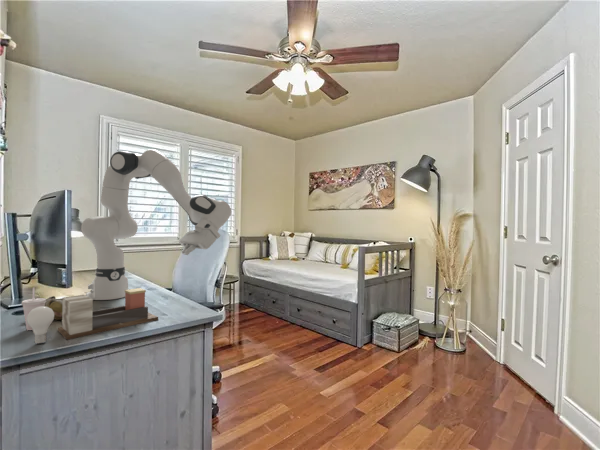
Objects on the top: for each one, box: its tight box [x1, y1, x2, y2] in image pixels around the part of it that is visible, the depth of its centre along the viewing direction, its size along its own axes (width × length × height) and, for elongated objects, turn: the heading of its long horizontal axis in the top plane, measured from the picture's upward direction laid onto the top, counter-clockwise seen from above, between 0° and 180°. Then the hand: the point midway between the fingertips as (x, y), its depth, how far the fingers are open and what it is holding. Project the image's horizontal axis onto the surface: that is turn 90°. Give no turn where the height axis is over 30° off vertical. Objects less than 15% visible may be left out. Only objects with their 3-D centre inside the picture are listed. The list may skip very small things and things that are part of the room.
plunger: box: [124, 287, 147, 310], centre depth 117 cm, size 5×5×10 cm
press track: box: [57, 294, 159, 341], centre depth 111 cm, size 12×28×11 cm, turn 138°
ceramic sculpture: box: [45, 295, 63, 321], centre depth 117 cm, size 11×9×15 cm
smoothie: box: [21, 287, 47, 331], centre depth 106 cm, size 6×6×14 cm
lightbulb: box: [27, 306, 55, 345], centre depth 93 cm, size 6×6×11 cm
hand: (184, 253), depth 131 cm, fingers closed
